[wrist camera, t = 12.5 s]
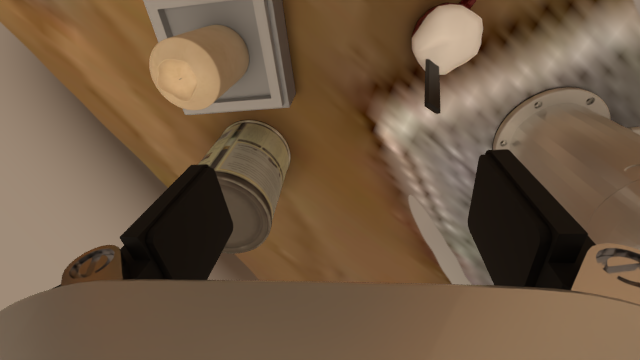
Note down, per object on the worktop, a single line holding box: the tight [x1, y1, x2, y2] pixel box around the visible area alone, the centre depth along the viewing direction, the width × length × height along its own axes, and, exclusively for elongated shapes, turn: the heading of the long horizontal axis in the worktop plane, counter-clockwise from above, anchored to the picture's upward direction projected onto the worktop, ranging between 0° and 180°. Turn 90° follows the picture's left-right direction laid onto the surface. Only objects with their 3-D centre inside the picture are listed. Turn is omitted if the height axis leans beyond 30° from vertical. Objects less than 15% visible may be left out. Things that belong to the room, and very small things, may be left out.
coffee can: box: [198, 120, 290, 253], centre depth 36 cm, size 10×10×14 cm
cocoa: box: [412, 0, 483, 114], centre depth 27 cm, size 10×6×12 cm, turn 127°
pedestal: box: [143, 0, 296, 115], centre depth 32 cm, size 12×12×6 cm
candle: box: [149, 25, 249, 110], centre depth 26 cm, size 6×6×10 cm
